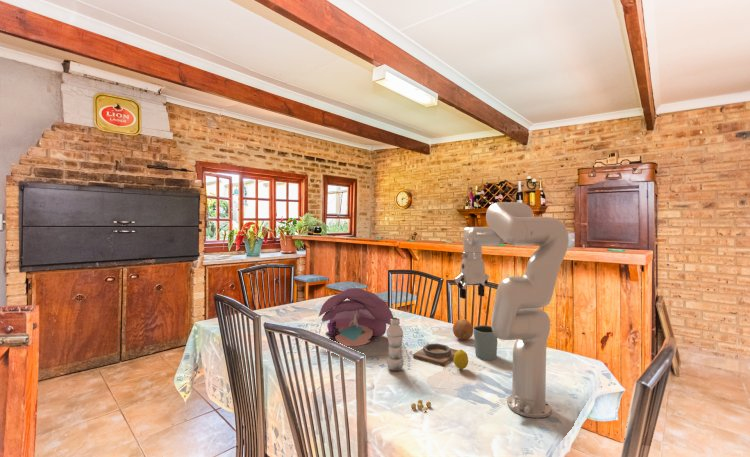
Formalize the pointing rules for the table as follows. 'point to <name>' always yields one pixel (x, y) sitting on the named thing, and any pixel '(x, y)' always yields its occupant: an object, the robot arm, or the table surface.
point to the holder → (436, 354)
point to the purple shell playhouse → (355, 316)
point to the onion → (463, 329)
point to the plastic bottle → (395, 345)
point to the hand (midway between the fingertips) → (472, 296)
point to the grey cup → (485, 343)
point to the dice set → (421, 405)
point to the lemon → (461, 359)
